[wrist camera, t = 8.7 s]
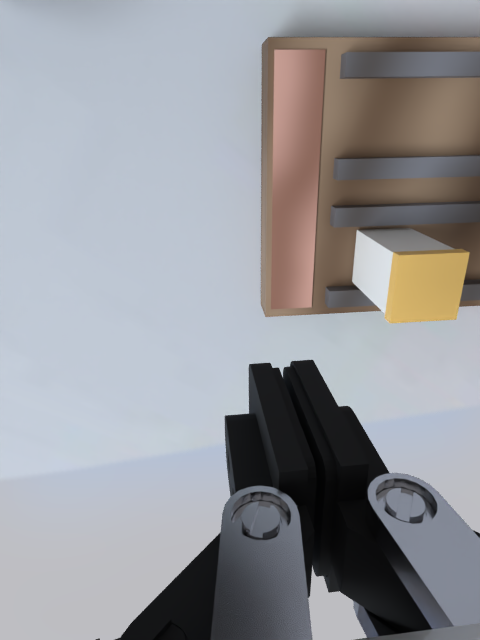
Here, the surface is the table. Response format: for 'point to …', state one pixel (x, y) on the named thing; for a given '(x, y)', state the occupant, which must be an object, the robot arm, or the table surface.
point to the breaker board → (364, 159)
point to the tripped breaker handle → (409, 274)
